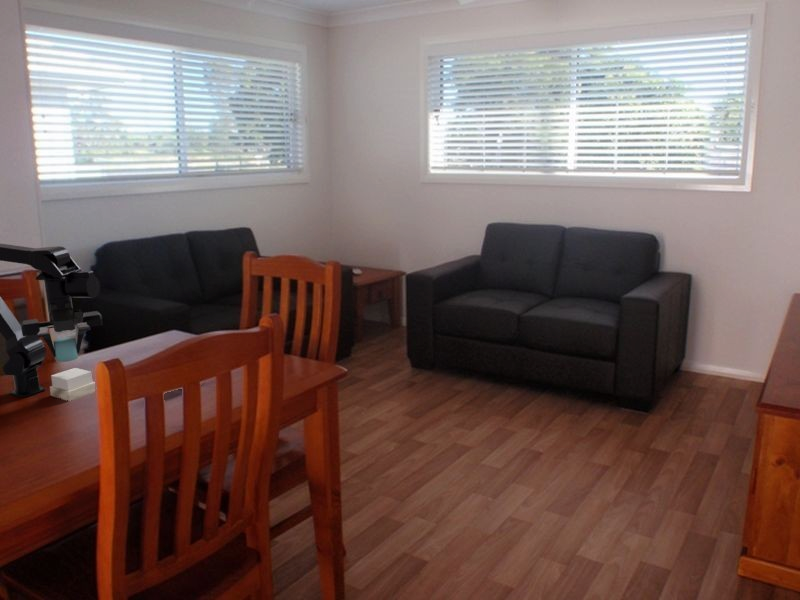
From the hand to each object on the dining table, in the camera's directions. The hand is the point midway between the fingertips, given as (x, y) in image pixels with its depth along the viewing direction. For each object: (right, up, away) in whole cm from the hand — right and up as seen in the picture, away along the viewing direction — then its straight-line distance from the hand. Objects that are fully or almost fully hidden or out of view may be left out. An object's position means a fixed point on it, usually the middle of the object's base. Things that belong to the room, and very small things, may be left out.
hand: (66, 355), depth 184 cm
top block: (0, -8, +3) cm, 8 cm away
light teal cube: (0, -1, 0) cm, 1 cm away
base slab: (0, -11, +3) cm, 11 cm away
